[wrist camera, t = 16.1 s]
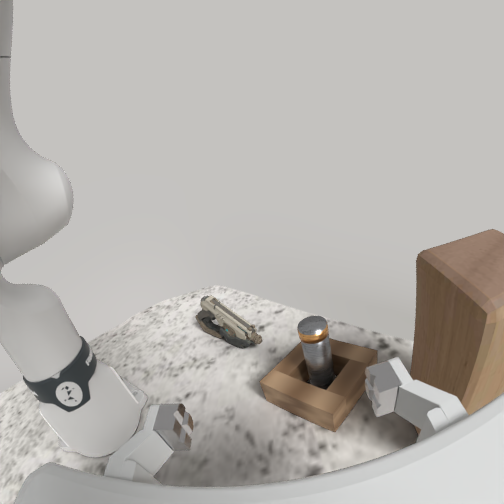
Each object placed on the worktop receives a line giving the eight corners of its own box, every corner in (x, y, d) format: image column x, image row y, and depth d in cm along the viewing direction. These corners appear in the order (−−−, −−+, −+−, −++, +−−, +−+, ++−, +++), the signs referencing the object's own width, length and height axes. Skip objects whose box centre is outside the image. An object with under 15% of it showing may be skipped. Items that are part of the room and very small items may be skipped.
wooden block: (402, 404, 26) (411, 248, 20) (467, 375, 25) (492, 223, 18) (428, 469, 17) (487, 313, 10) (501, 428, 15) (568, 263, 9)
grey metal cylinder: (309, 397, 32) (293, 334, 29) (314, 378, 35) (300, 316, 32) (334, 397, 31) (324, 333, 27) (337, 379, 34) (328, 314, 30)
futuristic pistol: (251, 370, 47) (256, 339, 41) (195, 324, 55) (191, 289, 49) (260, 361, 49) (267, 329, 43) (204, 318, 56) (202, 283, 50)
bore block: (266, 400, 34) (259, 381, 32) (313, 352, 40) (309, 333, 39) (334, 432, 26) (332, 414, 25) (377, 371, 33) (377, 350, 31)
